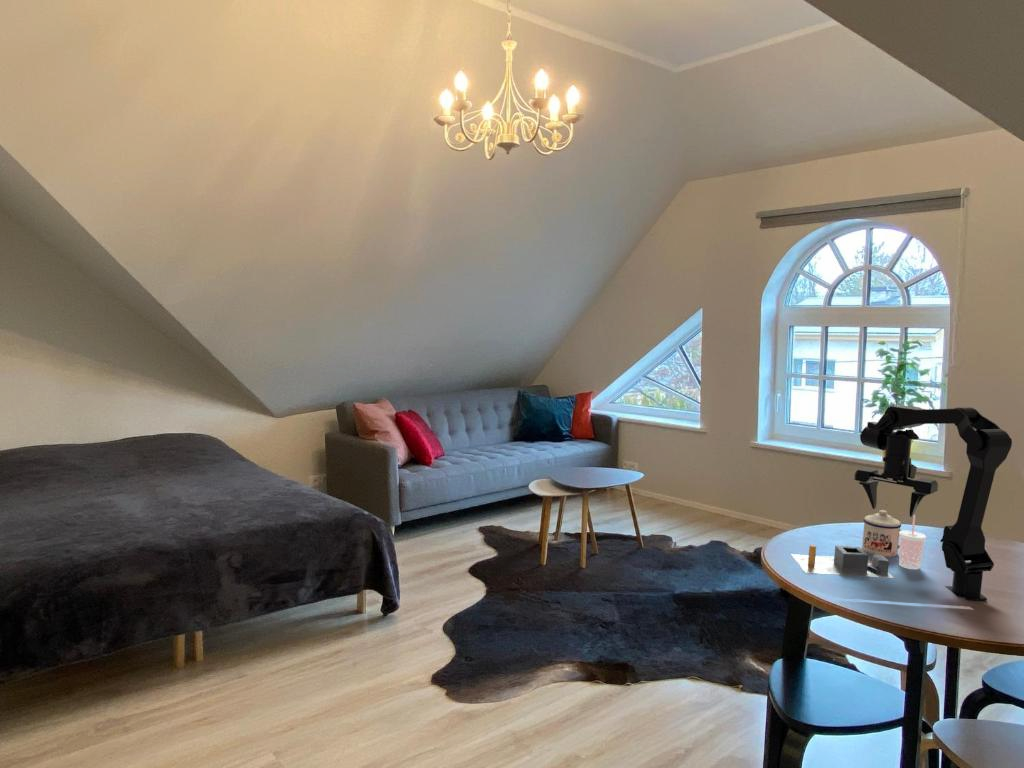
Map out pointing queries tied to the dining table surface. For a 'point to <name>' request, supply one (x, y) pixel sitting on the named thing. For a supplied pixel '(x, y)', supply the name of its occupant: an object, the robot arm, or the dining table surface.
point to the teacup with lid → (881, 534)
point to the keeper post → (812, 555)
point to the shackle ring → (851, 559)
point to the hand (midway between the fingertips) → (892, 512)
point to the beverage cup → (911, 548)
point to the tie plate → (827, 566)
